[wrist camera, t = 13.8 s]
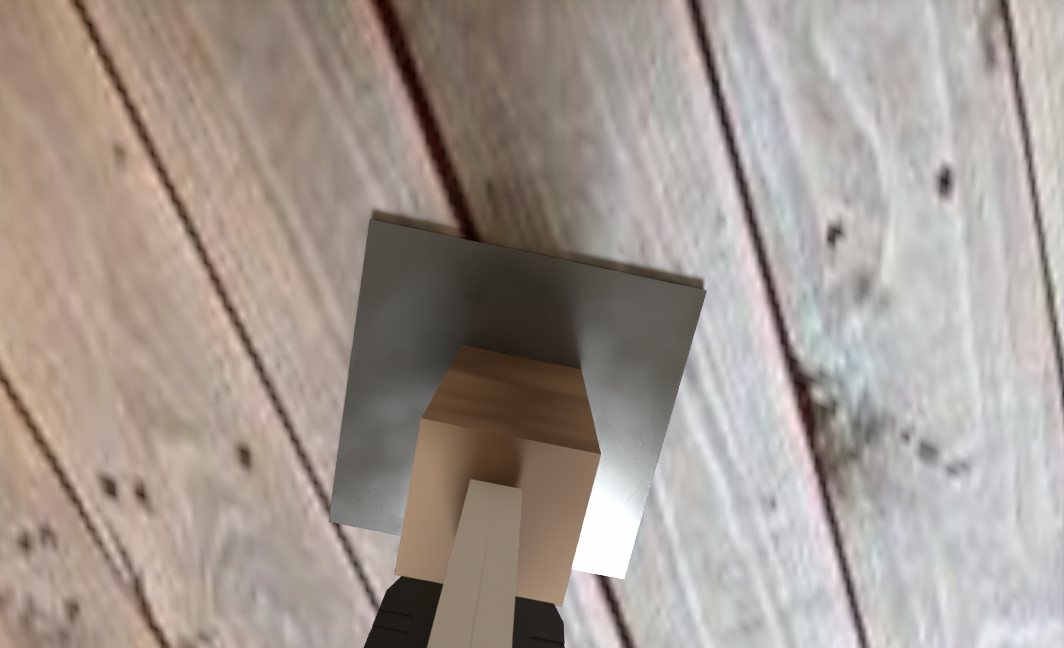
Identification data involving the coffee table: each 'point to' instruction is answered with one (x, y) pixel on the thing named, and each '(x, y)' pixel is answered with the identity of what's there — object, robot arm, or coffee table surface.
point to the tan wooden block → (503, 465)
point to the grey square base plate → (520, 330)
